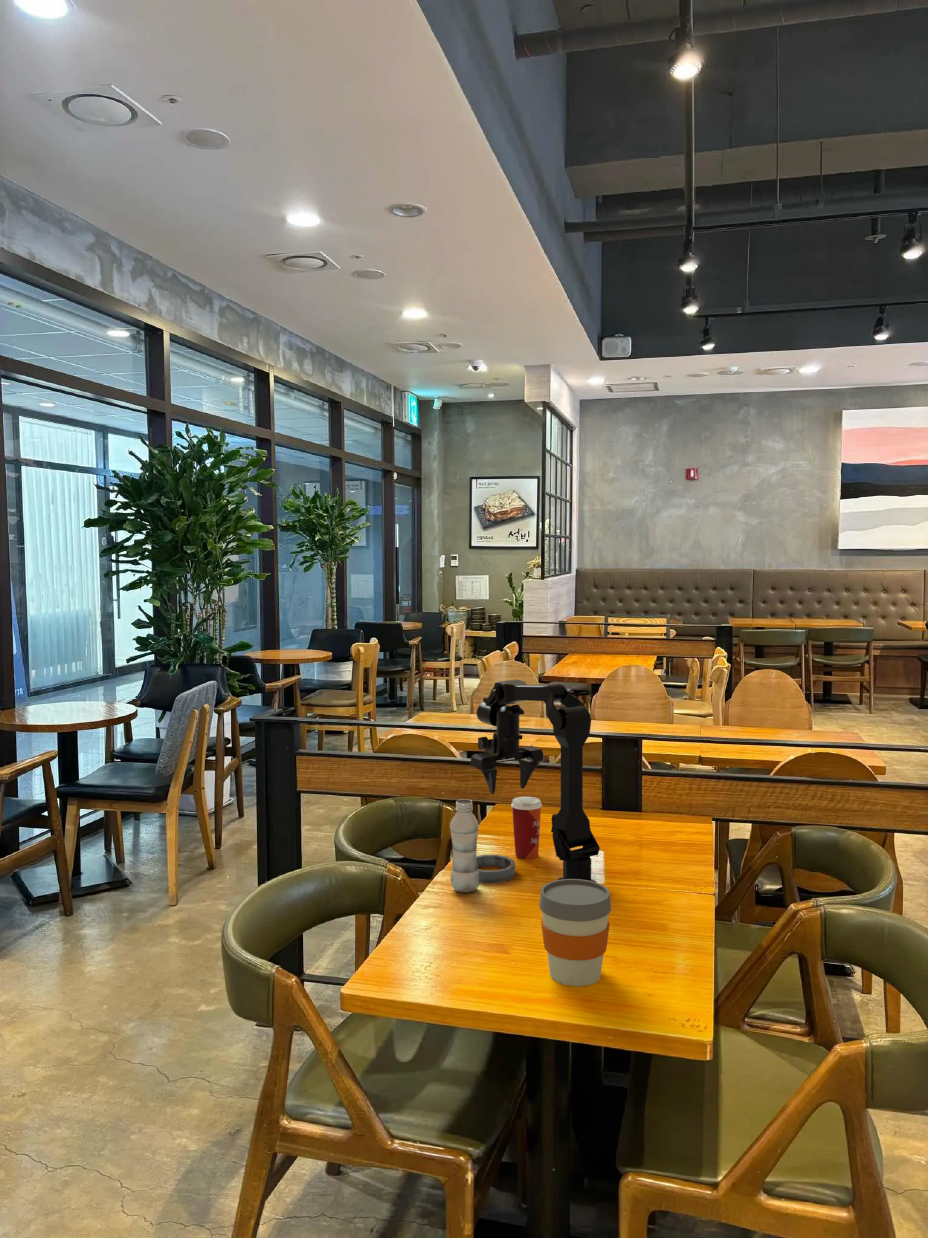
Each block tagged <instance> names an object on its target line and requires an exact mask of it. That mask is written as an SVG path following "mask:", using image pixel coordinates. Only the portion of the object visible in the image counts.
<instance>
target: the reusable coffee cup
mask: <svg viewBox="0 0 928 1238" xmlns="http://www.w3.org/2000/svg"><path fill="white" fill-rule="evenodd" d="M596 882H597V881H596ZM596 882H593V881H588V880H582V879H562V880H558V879H557V880H554V881H553V880H552V881H550V882H547V883H546V884H544V885H543V886H541V889H540V895H539V896H540V897H539V904H538V906H539V909H540V911H541V915H542V918H541V920H540V924H541V925H540V926H541V930H542V931H541V933H542V940H543V947H544V950H545V951H546V953H547V954H546V955H547V962H548V967H549V969H548V970H549V975H550V978H552V979H553V980H554V981H555V982H556V983H559V984H561V983H563V984H562V985H564V986H569V985H572V986H571V987H586V985H587V986H591V985H593V984H595V983H597V982H598V981H600V979H601V974H602V968H603V961H604V954H605V953H606V952H607V946H608V941H609V939H608V938H609V933H610V925H611V924H610V921H609V914H610V913H611V912H612V905H611V904H612V903H611V894H610V890H609V889H608V888H607V887H606V886H605V885H603V884H601V883H598V882H597V883H596Z"/></svg>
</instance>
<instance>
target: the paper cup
mask: <svg viewBox="0 0 928 1238" xmlns="http://www.w3.org/2000/svg"><path fill="white" fill-rule="evenodd" d="M541 802H542V801H541V799H540V798H538V797H533V796H518V797H514V798H513V799H512V802H511V804H510V806H511V809H512V811H511V812H512V823H513V824H512V825H513V826H512V827H513V840H514V841H513V842H514V853H515V857H516V858H517V859H520V860H527V861H529V860H535V859H537V858H538V856H539V849H540V848H539V847H540V845H539V844H540V829H541V815H542V814H541V811H542V807H543V804H542V803H541Z"/></svg>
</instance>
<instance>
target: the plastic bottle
mask: <svg viewBox="0 0 928 1238" xmlns="http://www.w3.org/2000/svg"><path fill="white" fill-rule="evenodd" d="M473 809H474V807H473V801H472V800H471V799H458V800H456V801H455V811H456V813H455V814H454V815H453V817H452V819H451V820H450V824H449V829H450V835H451V842H452V868H451V872H450V884H451V885H450V886H451V887H452V889H453V890H454V891H456V892H458V893H472V892H474V891H477V888H478V887H479V885H480V882H479V880H480V878H479V871H478V869H479V868H478V866H477V856H478V854H477V852H478V851H477V847H478V845H477V844H478V836H479V821H478V819H477V818H476V815H474V813H473Z"/></svg>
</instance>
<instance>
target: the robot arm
mask: <svg viewBox="0 0 928 1238" xmlns="http://www.w3.org/2000/svg"><path fill="white" fill-rule="evenodd" d="M493 684H494V686H493V687H492V689H491V690H490V693H489V694H488V696H486V697H485V696H484V697H483V698H482V699H483V701H482V702H481V703H480V704H479V705H478V707H477V710H476V717H477V719H478V721H480V723H483V724H487V725H489V726H493V727H496V732H493V734H492V738H490V739H489V738H488V737H487V736H480V737H478V739H477V746H478V747H477V748H478V750H479V751H484V752H480V753H474V754H473V755H471V758H470V766H472V767H474V768H475V769H476V770H480V771H481V773H482V775H483V777H484V779H485V782H486V785H487V787H488V790H489V793H490V794H491V795H495V792H496V783H497V775H498V769H497V768H496V766H497V764H499V763H504V762H506V763H507V762H511V761H518V764H519V767H520V768H519V777H520V778H519V785H520V789H521V790H524V789H525V788H526V787H527V783H528V781H529V780H530V778H531V775H532V774H533V772H534V770H535V769H536V767H537V766H538V765H540V762H543V761H544V759H545V754H544V751H543V749H541V748H539V747H536V746H534V745H527V746H526V745H525V746H522V747H520V740H523V734H520V721H521V720H520V719H521V717H520V716H522V715H524V714H525V710H524V709H523V708H521V706H520V704H516V703H521V702H526V701H529V702H530V701H532V702H544V705H545V715H546V717H547V719H548V720H549V722H550V723H551V725H552V729H553V730H552V731H553V736H554V737H555V739H556V741H557V742H558V744H559V746H560V808H559V811H558V813H554V814H552V816H551V817H550V819H551V831H550V833H552V835H551V836H552V842H553V846H554V852H555V855H556V857H557V858H559V861H562V876H561V877H558V878H557V880H562V879H582V880H588V881H593V882H596V883H598V881H596V880H594V879H592V858H591V857H594V856H598V855H599V852H600V849H601V848H600V847H601V846H600V845H599V844H598V842H597V840H596V838H595V836H594V834H593V832H592V830H591V823H590V822H591V821H590V819H589V817H588V816H587V814H586V812H585V811H584V807H583V805H584V803H583V802H584V799H583V798H584V796H583V795H584V789H583V788H584V786H583V784H584V783H583V782H584V778H583V777H584V775H583V774H584V773H583V771H584V766H583V765H584V764H583V763H584V762H583V761H584V760H583V759H584V755H583V754H584V745H585V744H586V742H587V740H588V738H589V736H590V732H591V726H592V725H591V724H592V716H591V713H590V712H589V711H588V709H587V707H586V706H585V705H584V703H583V701H581V700H580V698H578V697H576V695H575V696H574V695H573V693H572V694H571V692H569V691H568V689H567V688H566V686H565V685H564V684H561V683H552V684H529V683H527V682H526V681H524V680H521V679H520V680H519V679H510V680H499V681H496V682H494V683H493ZM555 702H560V704H562V706H564V707H565V708H564V707H563V708H557V706H556V705H555ZM490 753H491V754H490ZM492 754H494V755H492ZM579 847H580V848H579ZM573 848H574V849H573ZM575 848H576V849H575Z"/></svg>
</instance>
